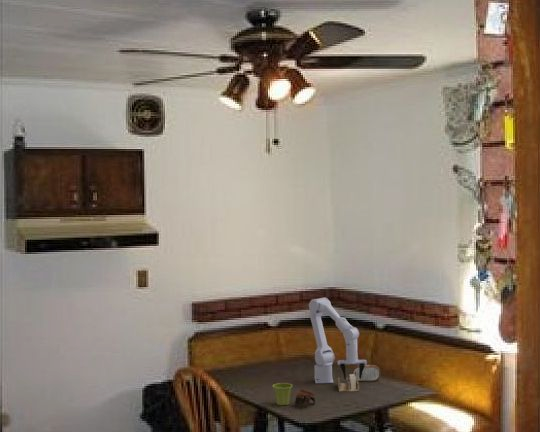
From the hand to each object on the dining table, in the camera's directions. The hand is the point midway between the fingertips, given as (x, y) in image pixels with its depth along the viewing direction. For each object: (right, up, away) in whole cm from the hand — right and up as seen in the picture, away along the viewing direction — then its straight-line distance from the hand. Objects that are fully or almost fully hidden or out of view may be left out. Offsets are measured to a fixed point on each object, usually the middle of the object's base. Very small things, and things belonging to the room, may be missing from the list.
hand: (352, 378), depth 331 cm
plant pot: (-36, -6, -24) cm, 43 cm away
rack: (-2, -5, 0) cm, 5 cm away
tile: (0, -4, 0) cm, 4 cm away
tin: (+9, -5, +13) cm, 16 cm away
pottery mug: (-26, -6, -28) cm, 38 cm away
